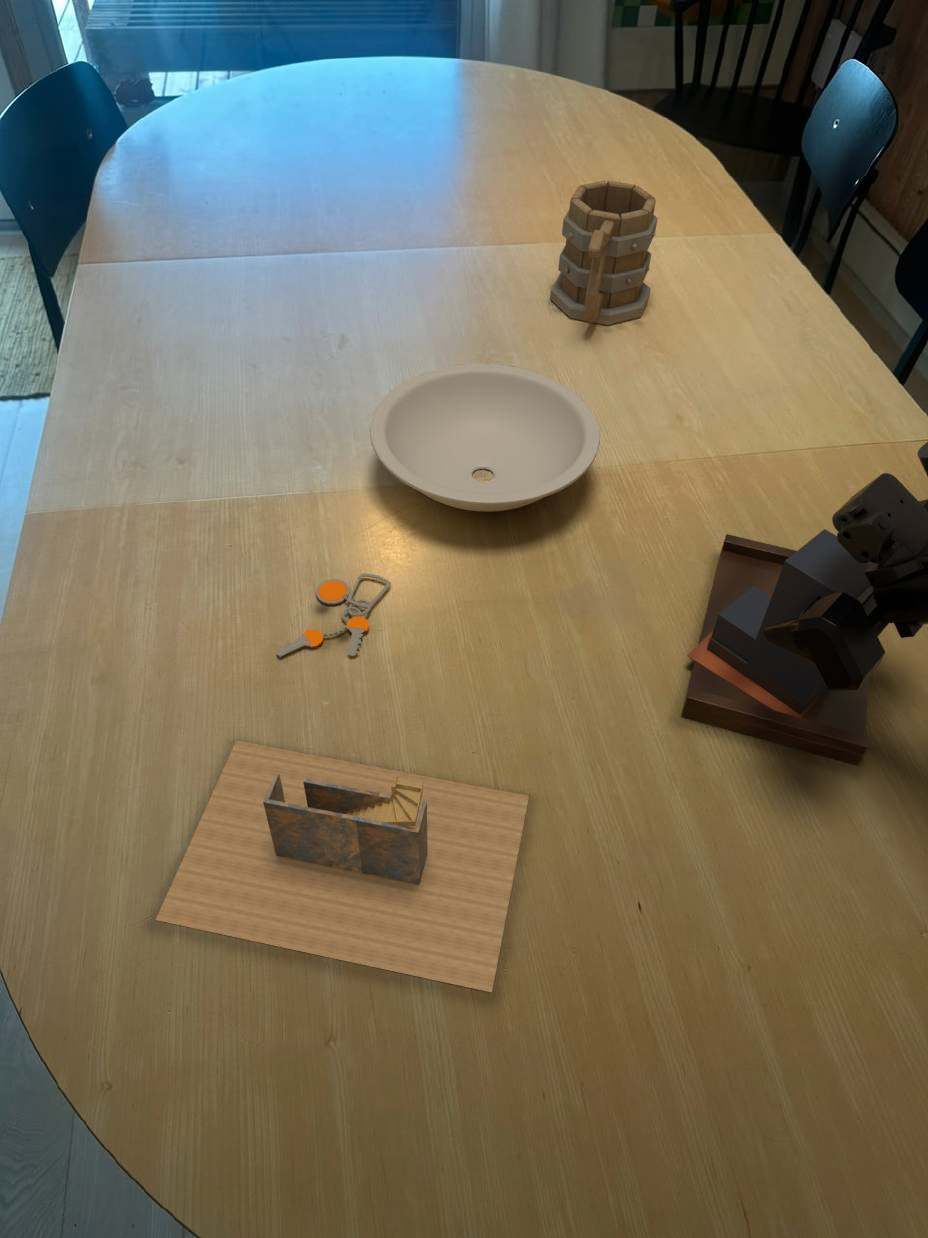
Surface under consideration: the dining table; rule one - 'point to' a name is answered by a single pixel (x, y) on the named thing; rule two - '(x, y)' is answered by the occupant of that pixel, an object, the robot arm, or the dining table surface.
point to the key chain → (335, 594)
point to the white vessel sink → (484, 435)
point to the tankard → (606, 253)
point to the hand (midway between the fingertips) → (794, 605)
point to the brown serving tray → (746, 705)
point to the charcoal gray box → (798, 586)
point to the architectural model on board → (353, 864)
